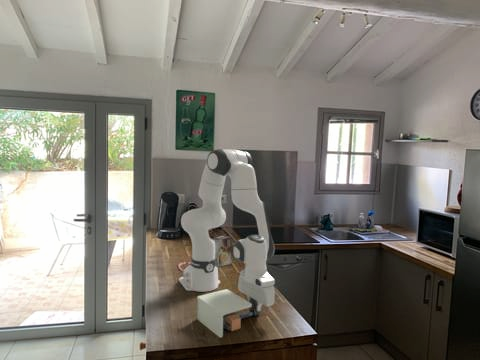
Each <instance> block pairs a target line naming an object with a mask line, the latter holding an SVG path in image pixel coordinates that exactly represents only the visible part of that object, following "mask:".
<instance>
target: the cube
mask: <svg viewBox="0 0 480 360" xmlns="http://www.w3.org/2000/svg"><path fill="white" fill-rule="evenodd" d="M236 314H237V313H234V314H231V315H227V316H226V315H225V317H226V322H227V323H229V324H230V325H231V326H232V330H230V331H231V332H234V331H236V330H240V329H241V328H242V327H241V322H242V321H241V320H242V319H241V318H240V317H238V316H237V315H236Z"/></svg>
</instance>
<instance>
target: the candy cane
mask: <svg viewBox="0 0 480 360" xmlns="http://www.w3.org/2000/svg"><path fill="white" fill-rule="evenodd" d="M190 263H191V262H188V261H187V262H185V261H183V262H181V263H179V264H178V265H177V269H178V270H179V271H181V272H182V273H184V270H185V269H183V268H182V267H181V266H182V265H188V266H189V265H190Z"/></svg>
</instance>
